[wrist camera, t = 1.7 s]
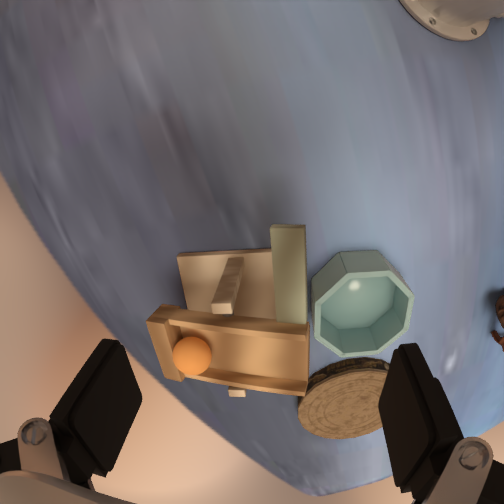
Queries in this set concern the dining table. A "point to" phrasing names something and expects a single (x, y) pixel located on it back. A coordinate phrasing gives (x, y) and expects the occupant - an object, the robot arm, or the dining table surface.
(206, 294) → the frame
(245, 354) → the lever
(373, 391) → the wood log slice
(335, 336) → the green octagonal bowl
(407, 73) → the dining table surface
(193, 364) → the ball
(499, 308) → the pottery mug
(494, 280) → the dining table surface
